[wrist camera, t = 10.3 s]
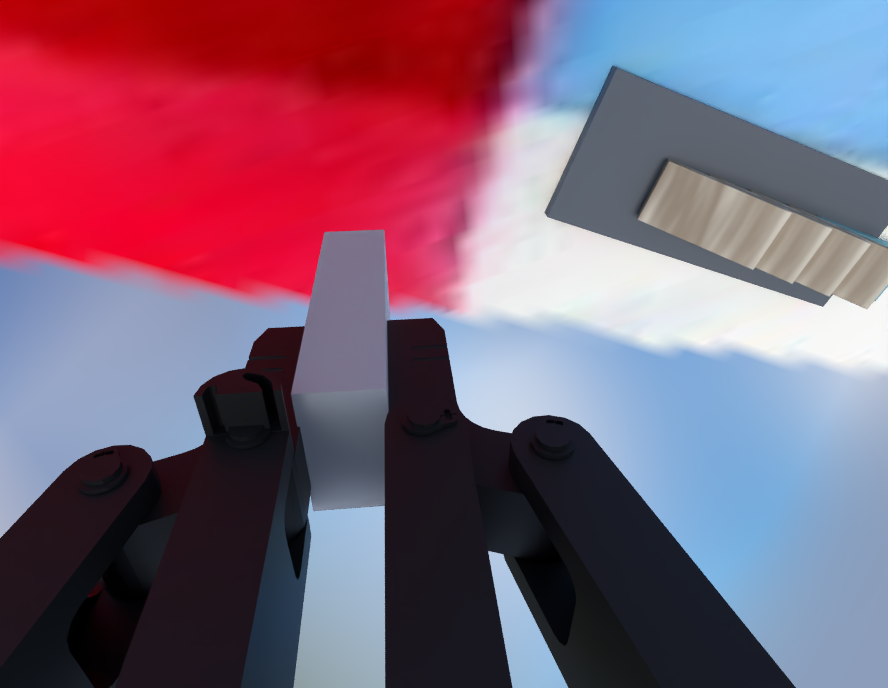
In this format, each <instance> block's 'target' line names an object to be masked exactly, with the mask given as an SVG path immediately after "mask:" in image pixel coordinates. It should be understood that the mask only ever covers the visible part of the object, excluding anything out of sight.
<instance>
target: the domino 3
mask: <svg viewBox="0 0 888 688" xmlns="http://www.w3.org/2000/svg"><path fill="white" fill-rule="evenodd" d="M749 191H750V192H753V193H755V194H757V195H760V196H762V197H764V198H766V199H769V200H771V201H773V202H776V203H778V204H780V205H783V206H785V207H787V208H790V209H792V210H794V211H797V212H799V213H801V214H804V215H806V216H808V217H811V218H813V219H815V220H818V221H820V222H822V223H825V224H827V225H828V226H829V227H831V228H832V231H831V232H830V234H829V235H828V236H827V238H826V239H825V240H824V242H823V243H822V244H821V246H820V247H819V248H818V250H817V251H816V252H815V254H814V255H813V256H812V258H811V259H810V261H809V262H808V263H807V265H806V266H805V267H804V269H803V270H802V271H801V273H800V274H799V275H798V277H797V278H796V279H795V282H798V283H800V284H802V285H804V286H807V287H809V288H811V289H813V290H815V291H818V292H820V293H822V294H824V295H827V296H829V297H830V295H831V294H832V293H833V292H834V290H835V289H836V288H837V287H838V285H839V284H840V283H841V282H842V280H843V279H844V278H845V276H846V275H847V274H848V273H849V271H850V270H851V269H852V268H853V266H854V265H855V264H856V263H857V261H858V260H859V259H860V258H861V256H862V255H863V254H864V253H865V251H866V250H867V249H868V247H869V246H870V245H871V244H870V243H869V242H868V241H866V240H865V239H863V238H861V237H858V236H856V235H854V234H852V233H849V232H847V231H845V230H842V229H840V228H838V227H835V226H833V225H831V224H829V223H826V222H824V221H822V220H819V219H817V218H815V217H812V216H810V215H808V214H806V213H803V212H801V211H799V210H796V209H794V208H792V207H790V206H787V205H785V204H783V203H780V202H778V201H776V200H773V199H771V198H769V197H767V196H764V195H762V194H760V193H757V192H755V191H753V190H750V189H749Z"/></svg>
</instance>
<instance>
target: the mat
mask: <svg viewBox="0 0 888 688" xmlns="http://www.w3.org/2000/svg"><path fill="white" fill-rule="evenodd" d="M668 159H671V160H673V161H676V162H678V163H680V164H683V165H685V166H687V167H690V168H692V169H695V170H697V171H699V172H702V173H704V174H706V175H710V174H711V175H713V176H715V177H718V178H720V179H722V180H725V181H727V182H729V183H732V184H734V185H736V186H739V187H741V188H743V189H746V190H748V191H749V189H750V190H753V191H755V192H757V193H760V194H762V195H764V196H767V197H769V198H771V199H773V200H776V201H778V202H780V203H783V204H785V205H787V206H788V204H789V205H792V206H794V207H796V208H799V209H801V210H803V211H805V212H808V213H810V214H812V215H815V216H818V215H819V216H821V217H824V218H827V219H829V220H832V221H834V222H837V223H840V224H842V225H845V226H847V227H850V228H853V229H855V230H858V231H860V232H863V233H866V234H868V235H871V236H873V237H876V238H878V237H879V236H880V234H881V233H882V232H883V231H884V229H885V228H886V227H887V225H888V180H886V179H884V178H881V177H879V176H876V175H874V174H871V173H869V172H867V171H864V170H862V169H859V168H857V167H855V166H852V165H850V164H847V163H845V162H843V161H840V160H838V159H835V158H833V157H830V156H828V155H826V154H823V153H821V152H818V151H816V150H814V149H811V148H809V147H806V146H804V145H802V144H799V143H797V142H794V141H792V140H789V139H787V138H785V137H782V136H780V135H777V134H775V133H773V132H770V131H768V130H765V129H763V128H761V127H758V126H756V125H753V124H751V123H749V122H746V121H744V120H741V119H739V118H736V117H734V116H732V115H729V114H727V113H724V112H722V111H720V110H717V109H715V108H712V107H710V106H708V105H705V104H703V103H700V102H698V101H695V100H693V99H691V98H688V97H686V96H683V95H681V94H679V93H676V92H674V91H671V90H669V89H667V88H664V87H662V86H659V85H657V84H654V83H652V82H650V81H647V80H645V79H642V78H640V77H638V76H635V75H633V74H630V73H628V72H626V71H623V70H621V69H618V68H616V67H613V66H612V68H611V71H610V73H609V75H608V77H607V79H606V82H605V84H604V86H603V88H602V90H601V92H600V95H599V97H598V99H597V101H596V103H595V105H594V108H593V110H592V112H591V114H590V116H589V118H588V121H587V123H586V125H585V127H584V129H583V131H582V134H581V136H580V138H579V140H578V142H577V144H576V147H575V149H574V151H573V153H572V155H571V157H570V160H569V162H568V164H567V166H566V168H565V170H564V173H563V175H562V177H561V179H560V181H559V183H558V186H557V188H556V190H555V192H554V194H553V196H552V199H551V201H550V203H549V205H548V207H547V209H546V212H545V214H546V215H547V217H549V218H552V219H555V220H558V221H561V222H564V223H568V224H571V225H574V226H577V227H580V228H583V229H586V230H589V231H592V232H595V233H598V234H601V235H604V236H607V237H611V238H614V239H617V240H620V241H623V242H626V243H629V244H632V245H635V246H638V247H641V248H644V249H647V250H650V251H654V252H657V253H660V254H663V255H666V256H669V257H672V258H675V259H678V260H681V261H684V262H687V263H690V264H693V265H697V266H700V267H703V268H706V269H709V270H712V271H715V272H718V273H721V274H724V275H727V276H730V277H733V278H736V279H740V280H743V281H746V282H749V283H752V284H755V285H758V286H761V287H764V288H767V289H770V290H773V291H776V292H779V293H782V294H786V295H789V296H792V297H795V298H798V299H801V300H804V301H807V302H810V303H813V304H816V305H819V306H822V307H823V306H824V305H825V304H826V303H827V301H828V300H829V299H830V297H831V296H832V295H833V294H831V295H830V297H829V296H827V295H824V294H822V293H820V292H818V291H815V290H813V289H811V288H809V287H807V286H804V285H802V284H800V283H798V282H795V281H794V282H793V283H789V282H787V281H785V280H782V279H780V278H778V277H776V276H773V275H771V274H769V273H767V272H764V271H762V270H760V269H758V268H754V269H753V270H752V269H750V268H748V267H745V266H743V265H741V264H738V263H736V262H734V261H732V260H729V259H727V258H725V257H722V256H720V255H718V254H716V253H713V252H711V251H709V250H706V249H704V248H702V247H699V246H697V245H695V244H693V243H690V242H688V241H686V240H683V239H681V238H679V237H677V236H674V235H672V234H670V233H667V232H665V231H663V230H660V229H658V228H656V227H654V226H651V225H649V224H647V223H644V222H642V221H640V220H638V214H639V212H640V210H641V208H642V206H643V205H644V203H645V201H646V199H647V197H648V195H649V193H650V192H651V190H652V188H653V186H654V184H655V182H656V181H657V179H658V177H659V175H660V173H661V171H662V169H663V168H664V166H665V164H666V162H667V160H668Z"/></svg>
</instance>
